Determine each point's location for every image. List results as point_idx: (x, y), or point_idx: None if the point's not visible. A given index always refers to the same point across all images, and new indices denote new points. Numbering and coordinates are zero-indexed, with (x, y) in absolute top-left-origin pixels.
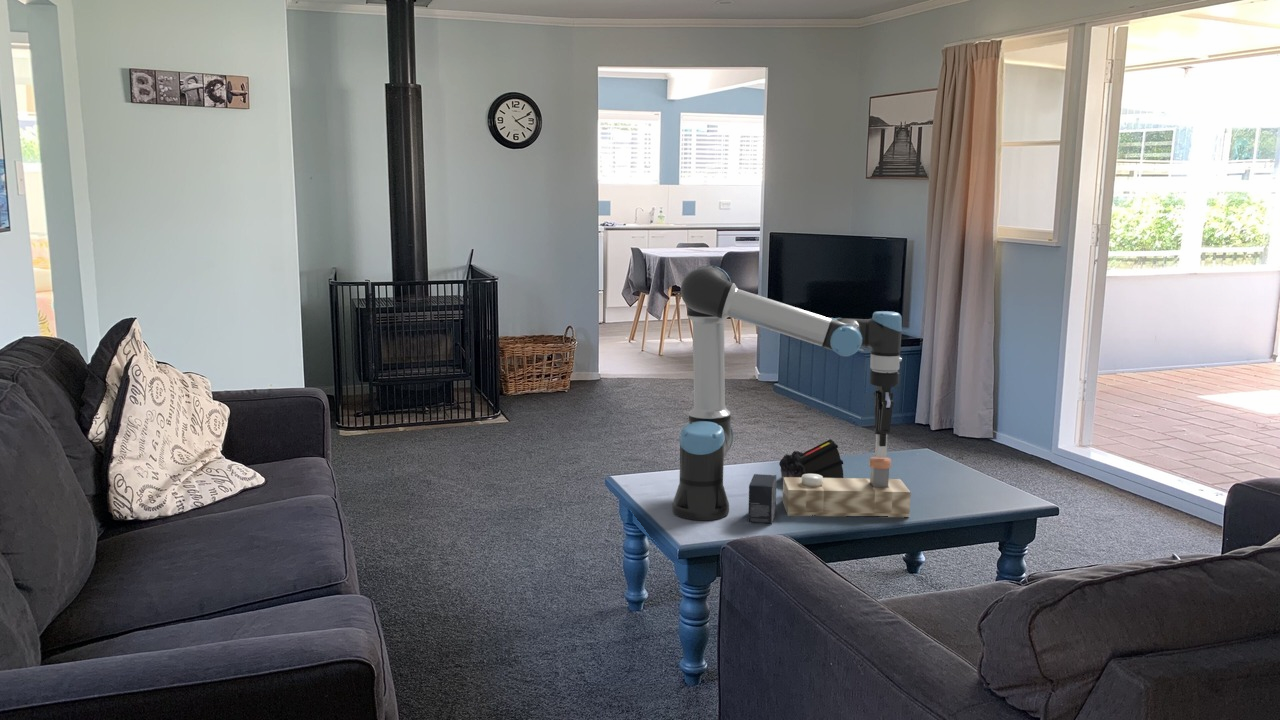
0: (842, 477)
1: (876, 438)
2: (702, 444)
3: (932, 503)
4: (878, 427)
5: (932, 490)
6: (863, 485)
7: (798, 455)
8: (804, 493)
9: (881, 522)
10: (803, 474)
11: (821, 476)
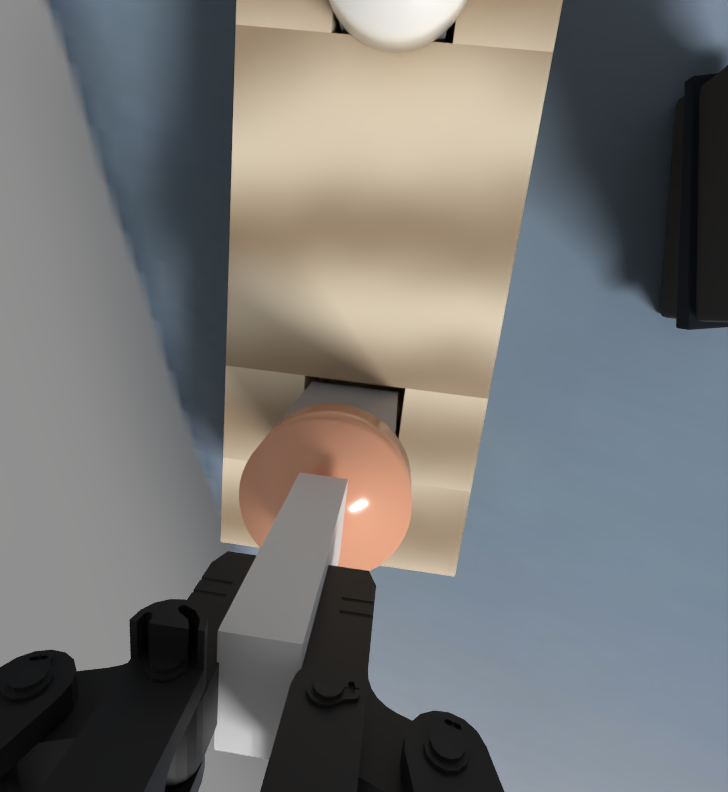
0: (705, 313)
1: (281, 583)
2: None
3: (432, 629)
4: (142, 736)
5: (600, 694)
6: (343, 335)
7: None
8: None
9: (200, 351)
10: None
11: (391, 16)
